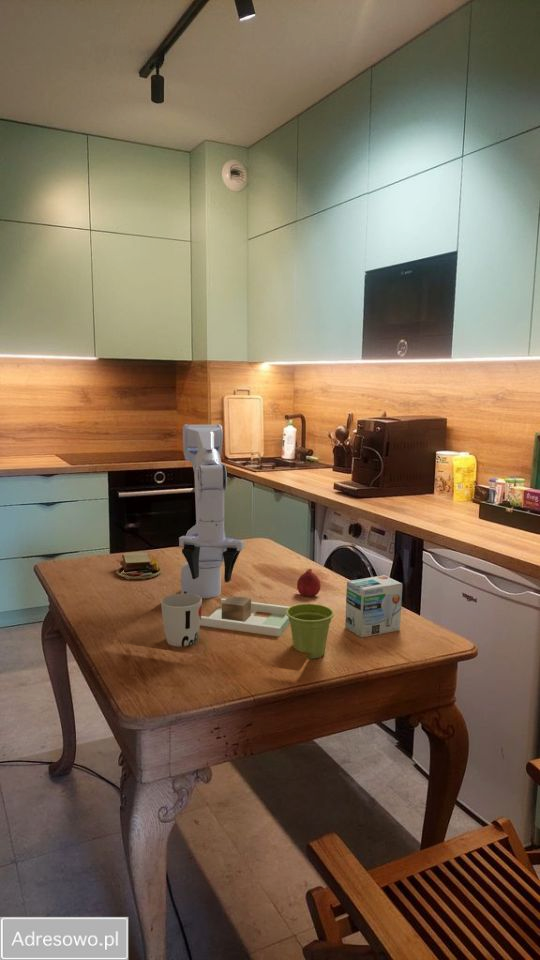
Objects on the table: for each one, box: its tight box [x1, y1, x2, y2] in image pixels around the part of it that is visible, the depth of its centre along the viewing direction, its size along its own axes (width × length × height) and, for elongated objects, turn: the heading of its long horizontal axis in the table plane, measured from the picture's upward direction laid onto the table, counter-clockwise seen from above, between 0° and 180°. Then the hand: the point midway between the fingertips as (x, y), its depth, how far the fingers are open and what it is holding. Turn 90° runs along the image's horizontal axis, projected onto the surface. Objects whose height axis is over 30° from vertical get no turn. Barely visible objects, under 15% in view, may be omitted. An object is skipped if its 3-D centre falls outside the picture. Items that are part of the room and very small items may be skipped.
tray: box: [200, 597, 291, 637], centre depth 141 cm, size 18×13×3 cm
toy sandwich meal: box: [115, 551, 163, 580], centre depth 178 cm, size 12×14×5 cm
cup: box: [160, 592, 203, 653], centre depth 129 cm, size 8×8×10 cm
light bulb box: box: [344, 574, 403, 638], centre depth 140 cm, size 11×7×11 cm, turn 117°
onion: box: [296, 567, 322, 598], centre depth 158 cm, size 6×6×8 cm
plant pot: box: [286, 603, 335, 660], centre depth 127 cm, size 9×9×9 cm
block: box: [222, 595, 252, 622], centre depth 142 cm, size 5×5×4 cm
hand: (211, 579), depth 142 cm, fingers open, 7 cm apart
